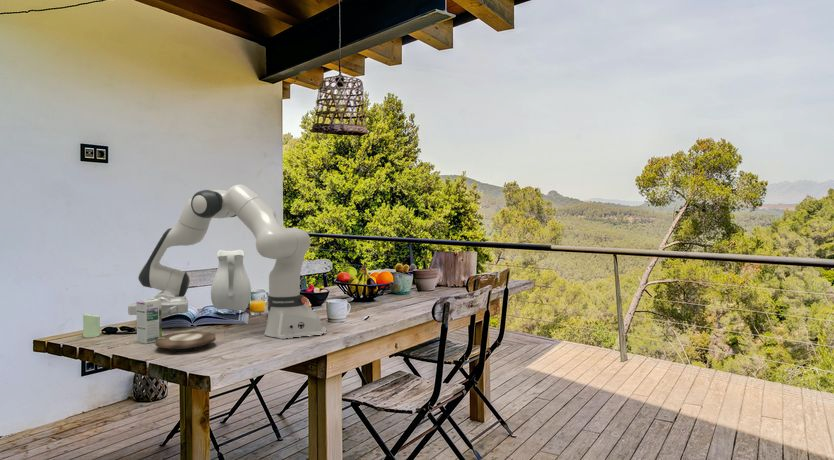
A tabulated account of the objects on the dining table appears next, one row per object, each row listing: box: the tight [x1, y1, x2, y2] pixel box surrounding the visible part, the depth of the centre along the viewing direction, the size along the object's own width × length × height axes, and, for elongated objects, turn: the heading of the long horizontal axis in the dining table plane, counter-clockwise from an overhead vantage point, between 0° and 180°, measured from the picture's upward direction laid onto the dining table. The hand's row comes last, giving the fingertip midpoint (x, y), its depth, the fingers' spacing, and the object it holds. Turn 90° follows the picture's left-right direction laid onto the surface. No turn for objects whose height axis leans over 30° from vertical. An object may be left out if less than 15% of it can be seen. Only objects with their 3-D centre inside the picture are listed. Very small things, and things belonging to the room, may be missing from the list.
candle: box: [82, 313, 101, 339], centre depth 181 cm, size 5×5×8 cm
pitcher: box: [210, 249, 252, 312], centre depth 222 cm, size 24×17×28 cm
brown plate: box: [154, 330, 217, 349], centre depth 166 cm, size 18×18×1 cm
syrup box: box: [135, 297, 163, 345], centre depth 174 cm, size 6×6×14 cm
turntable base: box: [168, 345, 204, 352], centre depth 166 cm, size 10×10×2 cm
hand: (155, 311), depth 184 cm, fingers open, 8 cm apart
